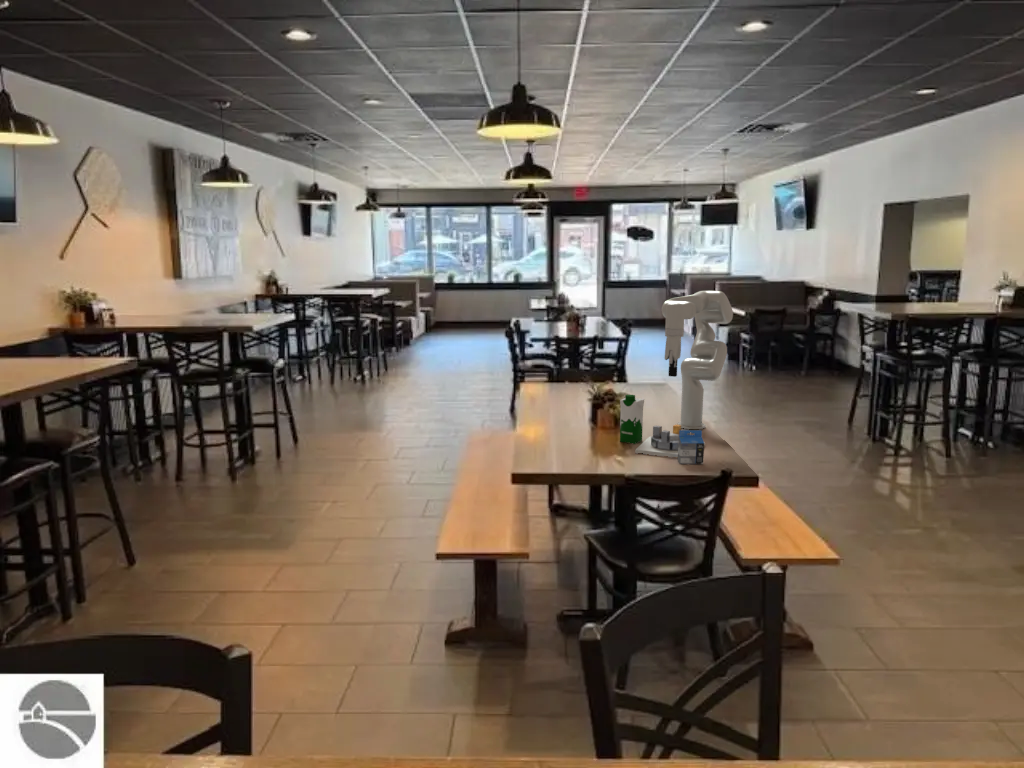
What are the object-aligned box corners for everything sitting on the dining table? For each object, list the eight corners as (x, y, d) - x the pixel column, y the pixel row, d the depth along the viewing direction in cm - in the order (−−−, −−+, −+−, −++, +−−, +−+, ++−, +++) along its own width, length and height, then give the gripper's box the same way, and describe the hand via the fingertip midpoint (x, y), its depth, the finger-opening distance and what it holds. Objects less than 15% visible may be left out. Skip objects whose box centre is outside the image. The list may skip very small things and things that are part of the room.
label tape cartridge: (679, 464, 275) (681, 432, 273) (677, 461, 279) (678, 430, 277) (703, 464, 275) (705, 432, 273) (700, 461, 279) (702, 430, 277)
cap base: (649, 439, 311) (650, 425, 310) (704, 445, 302) (705, 431, 301) (635, 453, 290) (635, 438, 289) (693, 460, 281) (694, 444, 280)
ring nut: (695, 443, 298) (696, 427, 296) (681, 452, 285) (682, 434, 284) (660, 438, 306) (661, 422, 305) (645, 446, 294) (646, 429, 292)
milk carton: (616, 441, 308) (618, 395, 304) (626, 437, 315) (627, 391, 311) (636, 445, 303) (637, 397, 299) (645, 440, 310) (646, 394, 306)
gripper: (669, 330, 313) (667, 372, 316) (661, 334, 300) (659, 378, 303) (687, 331, 310) (685, 374, 313) (679, 335, 296) (677, 379, 300)
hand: (672, 376), depth 308 cm, fingers closed
